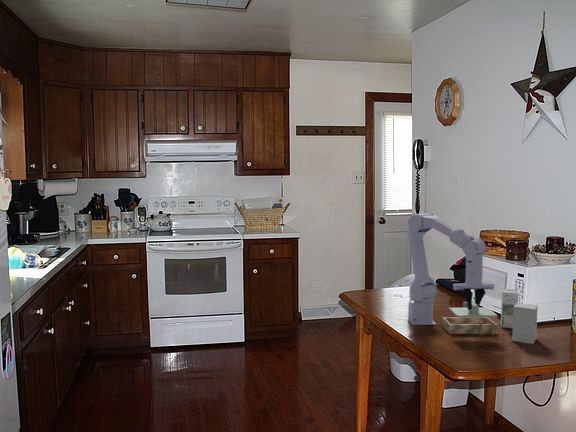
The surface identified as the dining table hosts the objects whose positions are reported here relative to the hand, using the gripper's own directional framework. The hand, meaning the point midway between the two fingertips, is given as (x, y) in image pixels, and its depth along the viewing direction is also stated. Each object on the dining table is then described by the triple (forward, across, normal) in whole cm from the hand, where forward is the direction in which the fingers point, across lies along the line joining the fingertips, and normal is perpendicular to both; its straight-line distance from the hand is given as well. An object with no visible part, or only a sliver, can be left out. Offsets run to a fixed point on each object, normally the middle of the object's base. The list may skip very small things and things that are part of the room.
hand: (473, 308), depth 197 cm
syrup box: (+11, +19, +12) cm, 25 cm away
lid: (+2, 0, 0) cm, 2 cm away
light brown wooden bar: (+6, +6, +20) cm, 22 cm away
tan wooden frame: (+10, +2, +8) cm, 14 cm away
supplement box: (+11, +18, -4) cm, 21 cm away
